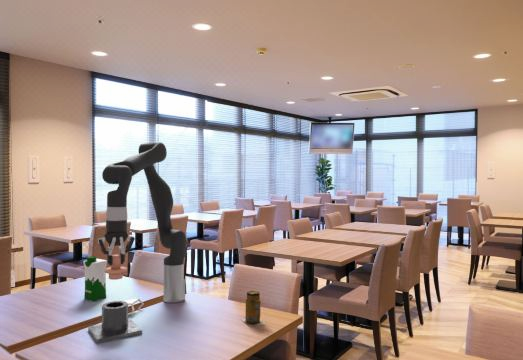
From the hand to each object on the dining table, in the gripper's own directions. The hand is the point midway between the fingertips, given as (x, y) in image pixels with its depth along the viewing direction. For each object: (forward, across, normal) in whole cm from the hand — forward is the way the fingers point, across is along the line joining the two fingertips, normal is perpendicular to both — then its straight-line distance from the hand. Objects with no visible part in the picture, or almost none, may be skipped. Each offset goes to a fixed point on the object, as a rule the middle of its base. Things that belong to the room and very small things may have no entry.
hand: (115, 264), depth 159 cm
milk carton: (+26, -4, -47) cm, 54 cm away
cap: (+5, 0, 0) cm, 5 cm away
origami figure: (+26, -12, -19) cm, 34 cm away
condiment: (+25, -50, +19) cm, 59 cm away
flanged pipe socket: (+26, 0, 0) cm, 26 cm away
